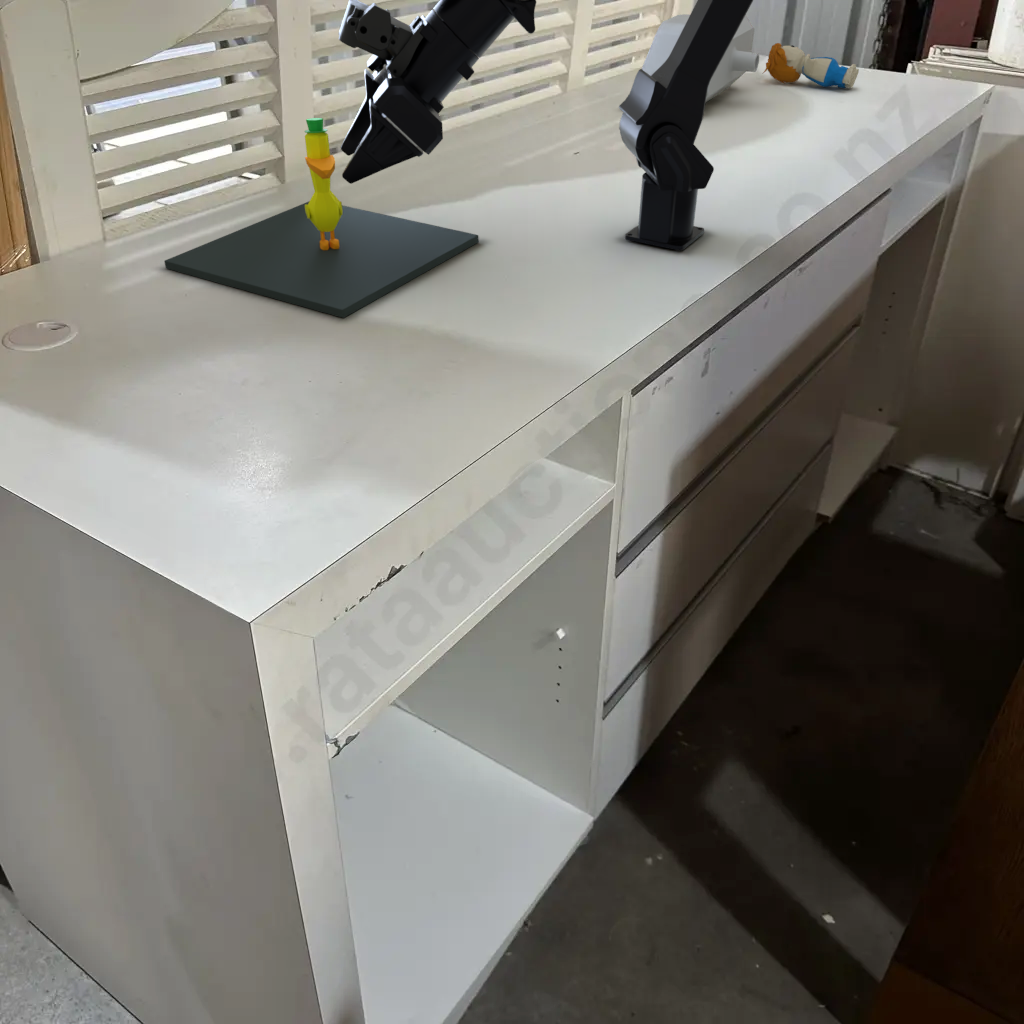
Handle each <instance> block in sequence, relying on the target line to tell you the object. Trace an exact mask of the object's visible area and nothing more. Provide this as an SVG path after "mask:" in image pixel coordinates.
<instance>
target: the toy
mask: <svg viewBox="0 0 1024 1024" xmlns="http://www.w3.org/2000/svg"><path fill="white" fill-rule="evenodd" d="M767 71H768V73H769V75H770V76H771V77H772V78H773V79H774V80H777V81H779V82H780V83H783V84H784V85H785V84H789V83H790V84H791V83H795V82H798V80H799V79H800V78H801V76H802V75H803V76H804V77H805V78H806V79H808V80H809V81H811V82H812V83H814V84H817V85H818V86H819V87H823V88H828V87H838V88H840V89H846V88H850V89H852V88H853V87H854V85H855V82H856V80H857V77H858V76H859V75H858V74H859V71H860V69H859V68H857V64H855V63H852V64H851V65H850V66H849V67H847V66H844V65H841V66H840V64H839V62H838V61H837V59H835V58H833V57H829V56H819V57H818V56H817V57H811V54H810V53H807V54H805V52H804V51H803V50H802V49H801V48H799V46H795V45H782V43H780V42H777V43H775V44H773V45H771V48H770V50H769V53H768V59H767V62H766V63H765V69H764V71H763V72H762V74H764V73H765V72H767Z"/></svg>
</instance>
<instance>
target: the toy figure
mask: <svg viewBox="0 0 1024 1024" xmlns="http://www.w3.org/2000/svg"><path fill="white" fill-rule="evenodd" d="M305 121H306V125H307V129H305V130H304V133H306V134H305V135H304V140H305V151H306V156H305V157H304V159H305V163H306V165H307V167H308V169H309V173H310V177H311V181H312V186H313V190H314V192H313V194H312V196H311V197H310V200H308V202H309V203H308V204H306V205H305V212H306V215H307V218H308V219H309V218H310V220H311V221H312V223H313V224H314V225H315V226H316V228H317V229H318V230H319V231H320V234H321V240H320V248H321V249H322V250H328V249H329V242H330V247H331V248H332V249H339V240H338V239H335V235H334V229H335V227H336V225H337V223H338V221H339V219H340V217H341V215H342V213H343V210H342V205H343V204H342V203H343V202H342V201H340V200H339V199H338V197H337V196H336V195H335V194H334V193H333V192H332V191H331V177H332V175H333V174H334V172H335V170H336V160H335V156H334V155H333V154H331V150H330V149H331V148H330V139H329V134H328V133H327V132H328V129H327V128H324V118H322V117H312V118H311V117H310V118H307V119H305ZM324 232H330V235H331V239H330V241H328V240H325V235H324Z"/></svg>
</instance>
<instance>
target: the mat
mask: <svg viewBox="0 0 1024 1024" xmlns="http://www.w3.org/2000/svg"><path fill="white" fill-rule="evenodd" d="M308 203H309V201H307V202H304V203H301V204H299V205H297V206H295V207H291V208H289V209H286V210H284V211H282V212H279V213H276V214H274V215H273V216H270V217H266V218H265V219H263V220H260V221H257V222H255V223H252V224H250V225H248V226H246V227H243V228H241V229H238V230H236V231H234V232H231V233H229V234H225V235H224V236H221V237H219V238H216V239H214V240H212V241H209V242H206V243H204V244H202V245H199V246H196V247H194V248H192V249H190V250H187V251H185V252H184V251H183V252H182V253H179V254H177V255H175V256H172V257H170V258H167V259H164V266H165V269H167V270H170V271H175V272H178V273H181V274H184V275H188V276H192V277H195V278H199V279H203V280H207V281H211V282H213V283H216V284H220V285H224V286H227V287H232V288H235V289H238V290H243V291H246V292H249V293H252V294H255V295H260V296H264V297H267V298H270V299H274V300H278V301H281V302H285V303H289V304H292V305H296V306H299V307H303V308H306V309H310V310H313V311H316V312H321V313H324V314H328V315H331V316H335V317H338V318H343V319H344V318H346V317H347V316H350V315H351V314H353V313H355V312H357V311H359V310H361V309H362V308H364V307H366V306H367V305H369V304H372V303H373V302H375V301H376V300H378V299H380V298H382V297H383V296H385V295H387V294H389V293H391V292H393V291H394V290H396V289H398V288H399V287H401V286H403V285H405V284H407V283H408V282H411V281H412V280H414V279H415V278H417V277H419V276H421V275H423V274H424V273H426V272H428V271H429V270H432V269H433V268H435V267H437V266H439V265H440V264H442V263H444V262H447V260H450V259H451V258H453V257H455V256H457V255H458V254H460V253H462V252H464V251H466V250H467V249H469V248H471V247H473V246H475V245H477V244H478V243H479V241H480V240H479V239H480V237H479V234H475V233H471V232H466V231H463V230H462V231H461V230H457V229H452V228H448V227H443V226H440V225H433V224H429V223H425V222H420V221H415V220H412V219H406V218H402V217H397V216H393V215H388V214H384V213H379V212H375V211H370V210H366V209H360V208H356V207H351V206H347V205H343V204H342V210H343V213H342V215H341V217H340V219H339V221H338V223H337V225H336V227H335V229H334V235H335V239H338V240H339V249H332V248H331V247H330V242H329V249H328V250H322V249H321V248H320V240H321V234H320V231H319V230H318V229H317V228H316V226H315V225H314V224H313V223H312V221H311V220H310V218H309V219H308V218H307V215H306V212H305V205H306V204H308ZM324 235H325V240H328V241H330V239H331V235H330V232H324Z"/></svg>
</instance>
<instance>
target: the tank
mask: <svg viewBox="0 0 1024 1024" xmlns="http://www.w3.org/2000/svg"><path fill="white" fill-rule="evenodd" d="M689 16H690V13H689V14H684V13H683V14H677V15H674V16H672V17H670V18H667V19H665V20H663V21H662V22H661V23H660V25H659V27H658V28H657V30H656V32H655V35H654V37H653V40H652V42H651V44H650V47H649V50H648V53H647V54H646V57H645V59H644V62H643V64H642V67H641V69H642V70H644V71H645V72H646V73H648V74H649V75H650V76H651V75H652V74H653V73H654V72H655V71H656V70H657V69H658V68H659V67H661V66H662V65H663V64H664V63H665V61H666V60H667V59H668V57H669V56H670V54H671V52H672V50H673V48H674V46H675V44H676V42H677V40H678V38H679V36H680V34H681V32H682V30H683V28H684V26H685V24H686V22H687V20H688V18H689ZM754 36H755V27H754V25H753V24H752V22H751V20H750V19H749V17H748V15H747V14H746V15H745V17H744V19H743V20H742V22H741V24H740V26H739V28H738V30H737V32H736V34H735V35H734V37H733V39H732V41H731V43H730V45H729V47H728V48H727V50H726V52H725V54H724V56H723V58H722V60H721V61H720V63H719V65H718V67H717V69H716V71H715V73H714V75H713V76H712V78H711V80H710V83H709V86H708V91H707V97H706V103H708V102H709V101H711V100H712V99H714V98H715V97H717V96H718V95H720V94H721V93H722V92H724V91H726V90H727V89H728V88H730V86H732V85H733V84H734V83H735V82H736V81H737V80H738V79H740V78H741V77H742V76H743V75H745V73H746V72H749V73H756V72H757V70H758V67H759V63H760V53H759V52H752V50H753V45H754V44H753V43H754V38H755V37H754Z"/></svg>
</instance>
